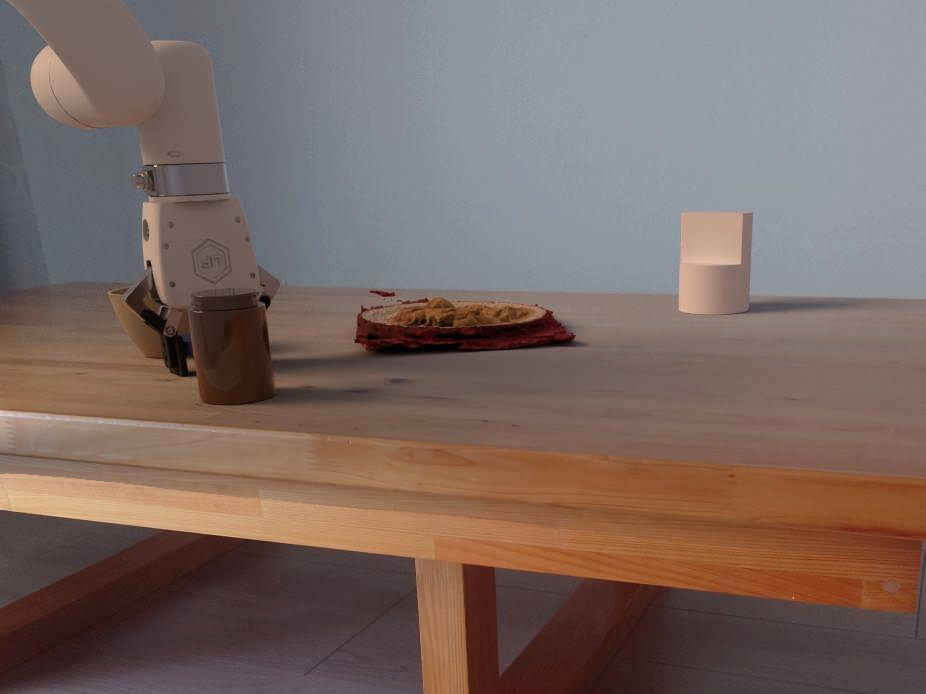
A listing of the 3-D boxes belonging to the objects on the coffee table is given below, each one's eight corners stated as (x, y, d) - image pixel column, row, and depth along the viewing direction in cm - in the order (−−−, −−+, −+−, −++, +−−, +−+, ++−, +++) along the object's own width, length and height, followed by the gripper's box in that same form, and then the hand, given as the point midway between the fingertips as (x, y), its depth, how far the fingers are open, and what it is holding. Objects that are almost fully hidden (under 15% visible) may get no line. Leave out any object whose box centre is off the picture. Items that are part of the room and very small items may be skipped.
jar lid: (256, 350, 101) (254, 336, 101) (185, 359, 98) (183, 344, 98) (237, 340, 107) (235, 326, 106) (169, 347, 104) (167, 334, 103)
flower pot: (152, 345, 117) (142, 282, 115) (231, 345, 115) (222, 281, 113) (100, 362, 108) (88, 294, 106) (185, 363, 106) (174, 293, 103)
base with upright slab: (666, 311, 130) (667, 214, 125) (697, 302, 137) (700, 209, 132) (730, 316, 125) (734, 215, 120) (760, 306, 132) (764, 210, 127)
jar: (219, 408, 86) (203, 299, 83) (188, 396, 91) (172, 293, 88) (289, 395, 90) (276, 290, 87) (255, 384, 95) (242, 285, 92)
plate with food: (355, 359, 107) (352, 326, 105) (362, 316, 130) (360, 289, 129) (576, 351, 109) (577, 319, 108) (544, 310, 133) (544, 284, 132)
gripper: (110, 189, 89) (145, 388, 95) (288, 180, 99) (309, 360, 106) (82, 188, 94) (117, 377, 101) (254, 180, 105) (275, 351, 111)
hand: (215, 366), depth 103 cm, fingers closed on jar lid, 7 cm apart
